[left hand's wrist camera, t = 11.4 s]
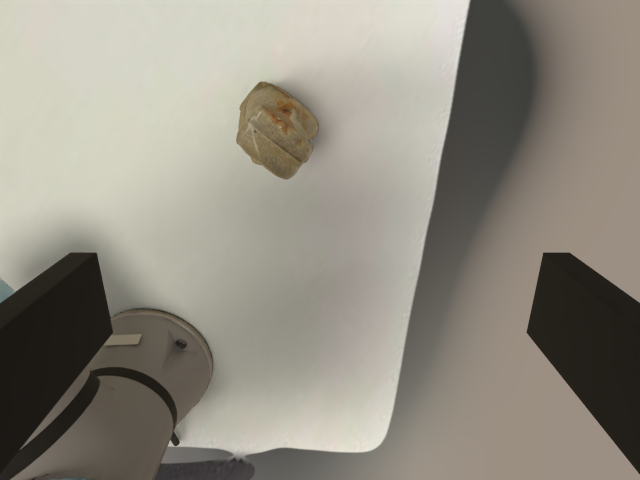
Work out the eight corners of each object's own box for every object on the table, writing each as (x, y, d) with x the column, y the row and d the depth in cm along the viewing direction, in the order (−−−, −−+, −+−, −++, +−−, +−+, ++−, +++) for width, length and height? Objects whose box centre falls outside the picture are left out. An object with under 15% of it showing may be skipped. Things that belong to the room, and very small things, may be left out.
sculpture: (289, 162, 44) (274, 202, 30) (236, 112, 43) (195, 131, 29) (327, 120, 43) (331, 143, 29) (274, 67, 41) (251, 64, 27)
